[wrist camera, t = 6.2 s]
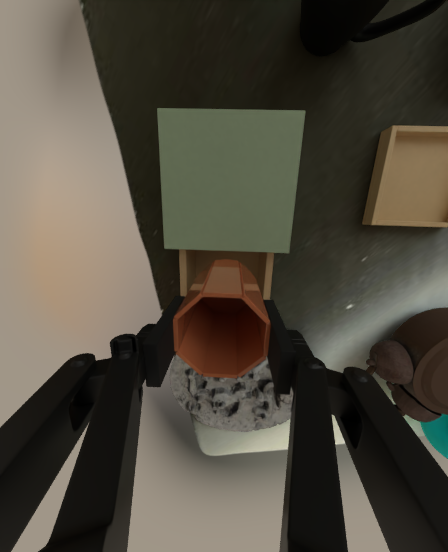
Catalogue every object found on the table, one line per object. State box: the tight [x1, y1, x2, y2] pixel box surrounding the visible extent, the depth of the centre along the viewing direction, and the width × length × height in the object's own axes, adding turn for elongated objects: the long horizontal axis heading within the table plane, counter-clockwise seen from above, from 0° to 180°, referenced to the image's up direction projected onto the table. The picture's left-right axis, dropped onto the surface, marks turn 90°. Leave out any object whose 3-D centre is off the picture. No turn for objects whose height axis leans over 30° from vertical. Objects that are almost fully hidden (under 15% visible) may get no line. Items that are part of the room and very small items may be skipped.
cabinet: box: [157, 108, 305, 253], centre depth 25 cm, size 13×13×9 cm
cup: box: [173, 259, 271, 378], centre depth 19 cm, size 6×6×10 cm
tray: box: [362, 126, 448, 227], centre depth 27 cm, size 11×11×2 cm
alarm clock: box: [365, 308, 448, 422], centre depth 31 cm, size 14×7×20 cm
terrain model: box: [170, 355, 293, 432], centre depth 36 cm, size 24×24×5 cm
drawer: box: [179, 249, 274, 300], centre depth 28 cm, size 13×12×7 cm
